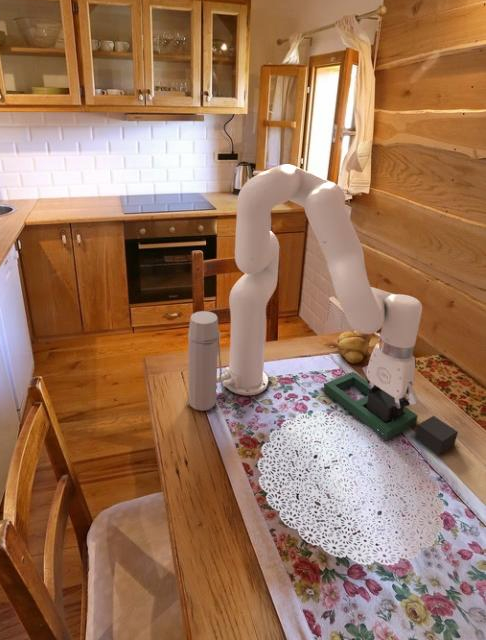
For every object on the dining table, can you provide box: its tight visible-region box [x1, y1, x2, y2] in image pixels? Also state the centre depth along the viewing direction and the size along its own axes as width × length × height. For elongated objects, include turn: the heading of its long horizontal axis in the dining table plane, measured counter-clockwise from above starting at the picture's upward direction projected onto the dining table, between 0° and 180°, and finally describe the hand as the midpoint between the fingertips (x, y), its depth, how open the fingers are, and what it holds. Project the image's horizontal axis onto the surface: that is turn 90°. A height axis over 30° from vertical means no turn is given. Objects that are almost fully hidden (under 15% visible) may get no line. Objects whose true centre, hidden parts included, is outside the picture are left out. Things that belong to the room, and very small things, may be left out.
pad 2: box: [414, 415, 459, 456], centre depth 94 cm, size 6×6×4 cm
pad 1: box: [366, 389, 401, 423], centre depth 100 cm, size 6×6×4 cm
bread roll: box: [337, 329, 372, 364], centre depth 127 cm, size 13×10×8 cm
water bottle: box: [187, 310, 223, 412], centre depth 102 cm, size 9×8×25 cm
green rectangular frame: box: [323, 371, 419, 441], centre depth 105 cm, size 11×20×2 cm, turn 31°
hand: (384, 408), depth 101 cm, fingers closed on pad 1, 5 cm apart
